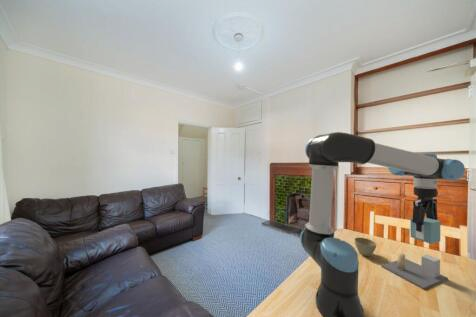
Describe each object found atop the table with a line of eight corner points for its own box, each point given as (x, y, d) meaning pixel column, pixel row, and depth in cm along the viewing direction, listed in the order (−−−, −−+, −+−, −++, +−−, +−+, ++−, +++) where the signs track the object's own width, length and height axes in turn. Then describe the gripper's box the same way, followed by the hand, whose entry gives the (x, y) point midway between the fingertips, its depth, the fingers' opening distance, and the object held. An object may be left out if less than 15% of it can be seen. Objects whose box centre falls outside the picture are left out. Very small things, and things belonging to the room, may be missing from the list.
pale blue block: (431, 244, 78) (431, 223, 78) (410, 237, 85) (410, 218, 84) (440, 241, 80) (440, 221, 80) (419, 234, 87) (419, 216, 87)
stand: (423, 289, 74) (424, 269, 74) (381, 266, 89) (381, 250, 89) (447, 279, 80) (448, 260, 80) (404, 259, 95) (404, 244, 95)
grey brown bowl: (376, 261, 94) (376, 247, 94) (353, 254, 100) (353, 242, 100) (376, 252, 102) (376, 240, 101) (355, 247, 108) (355, 235, 108)
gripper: (422, 190, 75) (422, 244, 75) (448, 186, 82) (448, 236, 82) (401, 187, 82) (401, 237, 82) (426, 184, 89) (427, 230, 89)
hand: (425, 236), depth 82 cm, fingers closed on pale blue block, 7 cm apart
